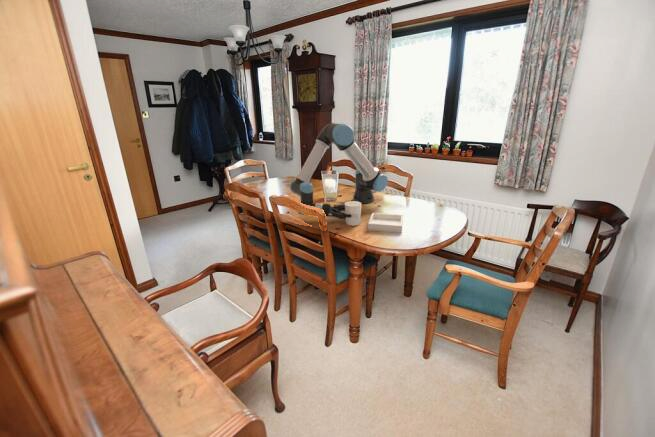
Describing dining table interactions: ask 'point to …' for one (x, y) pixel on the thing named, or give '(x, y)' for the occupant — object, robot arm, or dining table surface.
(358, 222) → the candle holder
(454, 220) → the dining table surface
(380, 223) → the crate
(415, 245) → the dining table surface
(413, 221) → the dining table surface
